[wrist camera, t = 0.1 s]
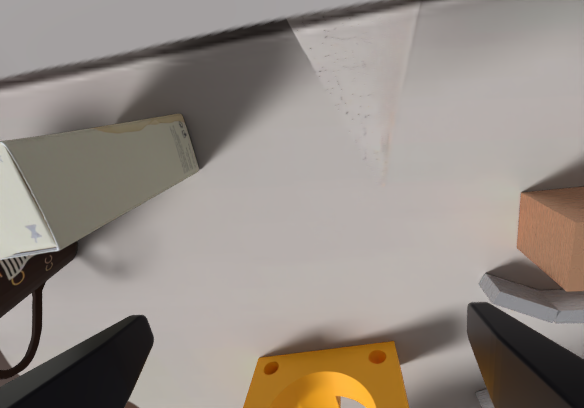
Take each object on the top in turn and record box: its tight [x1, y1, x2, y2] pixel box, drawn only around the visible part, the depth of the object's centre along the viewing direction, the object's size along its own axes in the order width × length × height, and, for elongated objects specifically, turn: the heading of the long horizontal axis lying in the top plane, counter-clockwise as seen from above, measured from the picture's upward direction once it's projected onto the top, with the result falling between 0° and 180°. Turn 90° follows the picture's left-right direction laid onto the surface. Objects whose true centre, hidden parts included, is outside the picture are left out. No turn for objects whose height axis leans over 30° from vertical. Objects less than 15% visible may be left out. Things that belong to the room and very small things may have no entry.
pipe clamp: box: [243, 341, 409, 408], centre depth 24 cm, size 12×4×6 cm, turn 107°
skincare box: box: [0, 114, 199, 260], centre depth 17 cm, size 6×4×12 cm
